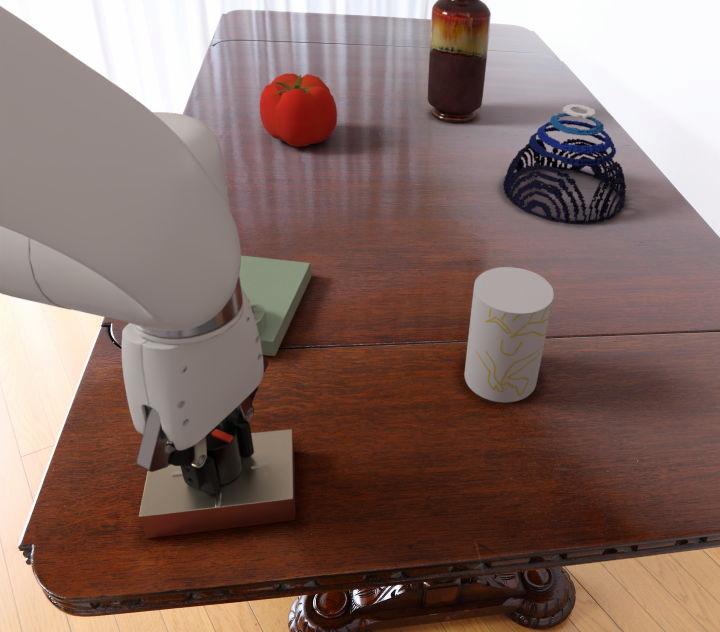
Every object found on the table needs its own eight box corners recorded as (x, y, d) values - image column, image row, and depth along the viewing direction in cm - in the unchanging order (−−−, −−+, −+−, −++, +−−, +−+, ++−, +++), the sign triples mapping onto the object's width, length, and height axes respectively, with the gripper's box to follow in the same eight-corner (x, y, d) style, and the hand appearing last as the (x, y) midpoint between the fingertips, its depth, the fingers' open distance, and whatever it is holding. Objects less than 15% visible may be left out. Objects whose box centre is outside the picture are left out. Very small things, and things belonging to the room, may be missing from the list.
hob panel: (146, 539, 56) (138, 515, 54) (159, 464, 62) (152, 441, 60) (295, 520, 59) (292, 497, 57) (294, 450, 65) (292, 427, 63)
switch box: (272, 362, 75) (269, 333, 72) (191, 353, 75) (184, 324, 72) (311, 277, 88) (309, 250, 86) (242, 269, 88) (238, 243, 86)
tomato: (271, 122, 127) (265, 65, 120) (342, 127, 128) (341, 71, 122) (254, 152, 116) (247, 91, 110) (332, 157, 117) (330, 97, 111)
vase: (418, 107, 140) (424, -33, 124) (467, 103, 144) (479, -33, 128) (438, 127, 132) (448, -19, 116) (489, 123, 136) (505, -19, 121)
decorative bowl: (537, 157, 125) (549, 78, 116) (639, 190, 118) (660, 109, 109) (482, 196, 111) (491, 109, 102) (594, 236, 103) (615, 147, 95)
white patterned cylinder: (472, 405, 72) (483, 315, 65) (458, 355, 78) (466, 268, 71) (545, 399, 74) (563, 311, 67) (525, 351, 80) (541, 265, 73)
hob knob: (189, 476, 58) (179, 437, 55) (217, 447, 61) (210, 409, 58) (224, 491, 57) (216, 453, 54) (251, 462, 60) (245, 424, 57)
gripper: (222, 229, 55) (248, 394, 66) (41, 343, 42) (109, 522, 53) (300, 256, 53) (313, 421, 64) (134, 384, 40) (185, 561, 51)
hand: (220, 466), depth 59 cm, fingers closed on hob knob, 3 cm apart
